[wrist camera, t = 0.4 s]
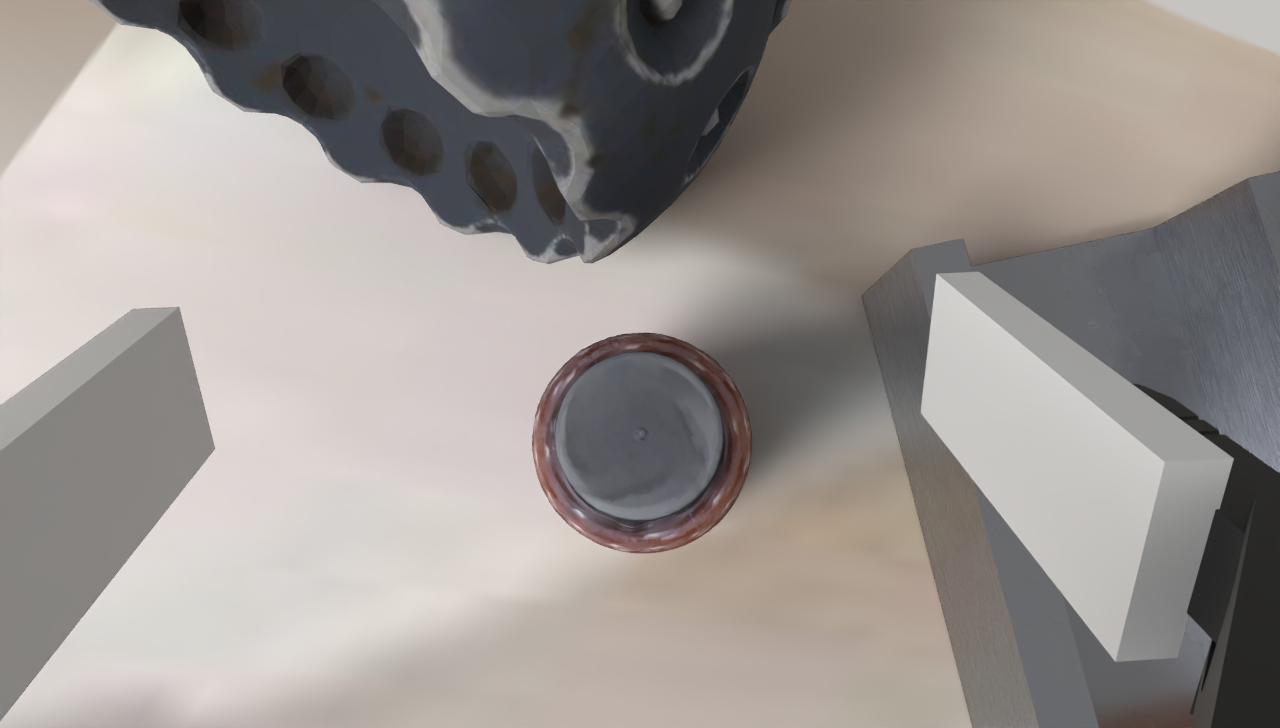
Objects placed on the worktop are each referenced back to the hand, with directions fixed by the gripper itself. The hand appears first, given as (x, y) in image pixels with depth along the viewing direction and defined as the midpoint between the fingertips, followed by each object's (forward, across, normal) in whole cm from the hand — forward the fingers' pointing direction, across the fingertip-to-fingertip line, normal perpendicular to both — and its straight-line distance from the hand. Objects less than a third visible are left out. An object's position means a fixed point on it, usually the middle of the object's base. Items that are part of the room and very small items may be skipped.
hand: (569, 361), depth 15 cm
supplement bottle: (+13, -2, +10) cm, 17 cm away
